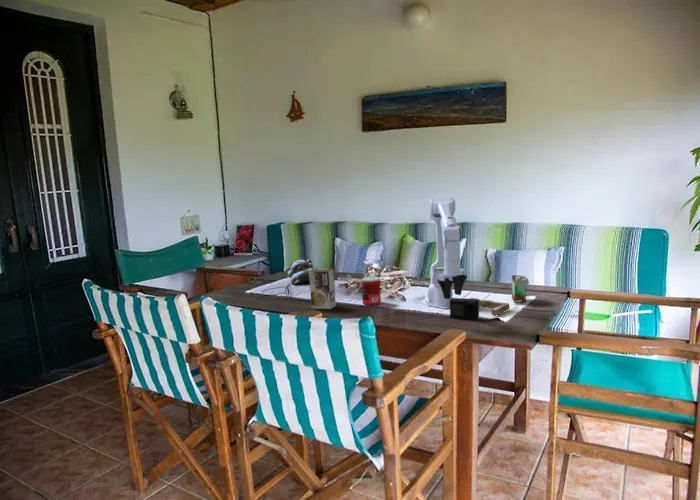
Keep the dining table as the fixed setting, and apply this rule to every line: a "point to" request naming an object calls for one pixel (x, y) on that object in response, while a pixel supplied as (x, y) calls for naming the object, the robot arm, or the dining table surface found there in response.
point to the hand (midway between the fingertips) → (452, 296)
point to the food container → (519, 288)
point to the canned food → (371, 291)
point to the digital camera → (464, 308)
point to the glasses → (280, 293)
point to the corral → (493, 306)
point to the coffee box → (322, 288)
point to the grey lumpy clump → (299, 271)
